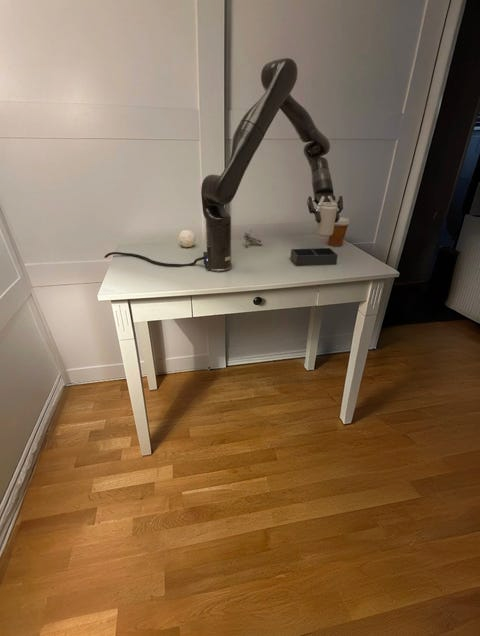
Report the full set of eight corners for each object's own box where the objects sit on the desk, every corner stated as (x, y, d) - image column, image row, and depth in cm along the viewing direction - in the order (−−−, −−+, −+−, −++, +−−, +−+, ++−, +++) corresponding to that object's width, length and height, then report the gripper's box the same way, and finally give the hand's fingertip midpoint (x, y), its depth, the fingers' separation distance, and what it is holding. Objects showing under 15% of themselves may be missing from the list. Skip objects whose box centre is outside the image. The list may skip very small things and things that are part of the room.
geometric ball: (186, 251, 147) (185, 234, 148) (199, 247, 143) (198, 230, 144) (174, 246, 141) (174, 229, 142) (188, 243, 137) (187, 225, 137)
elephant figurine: (261, 249, 142) (243, 242, 140) (257, 255, 148) (239, 248, 146) (265, 231, 146) (247, 224, 144) (261, 237, 151) (243, 230, 149)
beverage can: (331, 232, 126) (336, 201, 120) (333, 237, 121) (339, 205, 115) (315, 232, 127) (319, 201, 121) (317, 236, 122) (321, 204, 115)
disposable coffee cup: (339, 248, 143) (344, 222, 137) (321, 244, 149) (324, 218, 143) (348, 244, 150) (353, 218, 143) (330, 240, 155) (334, 215, 149)
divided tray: (295, 266, 125) (297, 256, 123) (290, 258, 132) (291, 249, 130) (336, 264, 127) (337, 254, 125) (328, 257, 134) (329, 247, 132)
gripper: (307, 177, 119) (313, 216, 115) (343, 177, 121) (350, 216, 117) (301, 190, 126) (307, 227, 123) (335, 189, 128) (342, 226, 124)
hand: (328, 221), depth 120 cm, fingers closed on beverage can, 6 cm apart
